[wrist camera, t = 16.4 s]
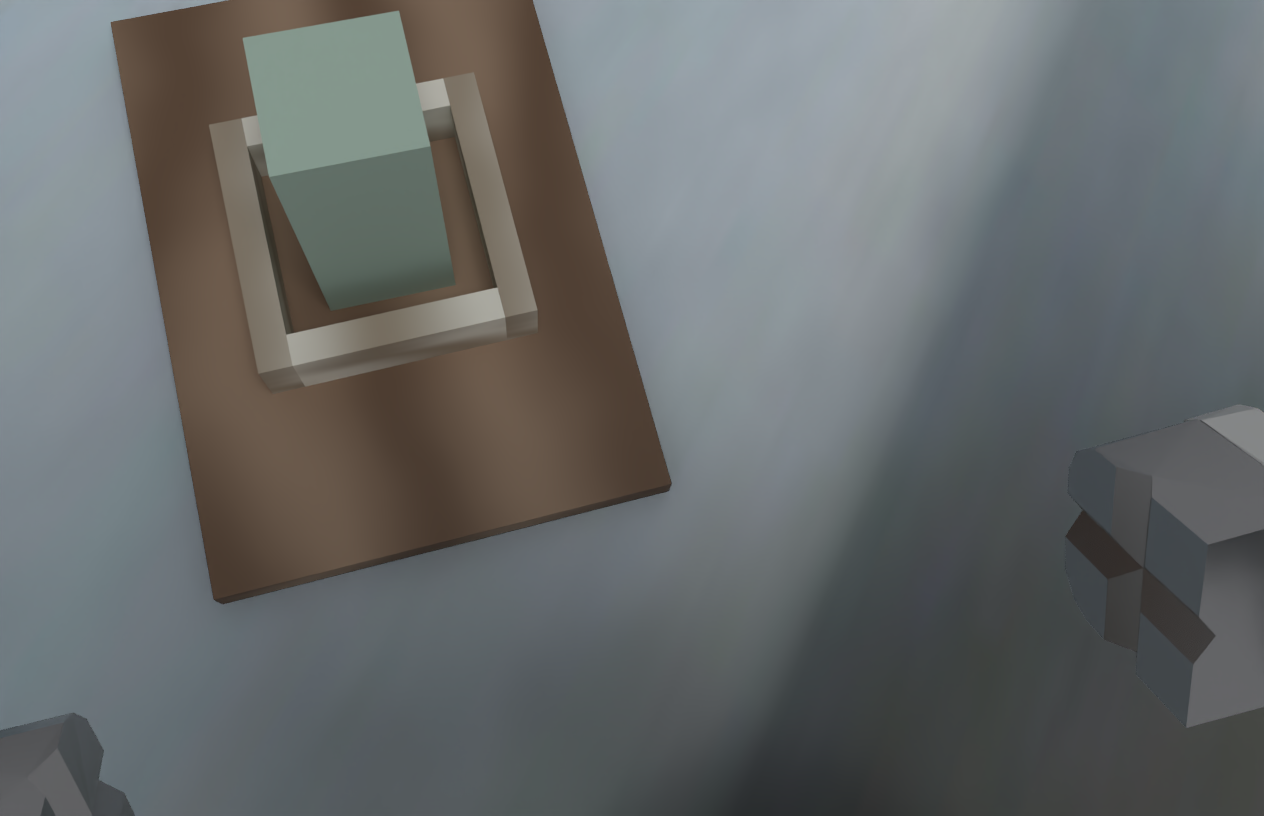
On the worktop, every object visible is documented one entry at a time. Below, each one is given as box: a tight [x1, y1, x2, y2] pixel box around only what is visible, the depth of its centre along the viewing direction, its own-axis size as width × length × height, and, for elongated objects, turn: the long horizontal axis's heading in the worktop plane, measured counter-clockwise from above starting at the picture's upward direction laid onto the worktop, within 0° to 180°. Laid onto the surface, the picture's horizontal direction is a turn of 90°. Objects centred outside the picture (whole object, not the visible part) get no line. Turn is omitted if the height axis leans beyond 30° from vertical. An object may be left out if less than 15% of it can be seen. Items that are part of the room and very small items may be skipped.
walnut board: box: [111, 0, 672, 604], centre depth 39 cm, size 14×20×3 cm
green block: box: [243, 11, 456, 311], centre depth 35 cm, size 4×4×9 cm
